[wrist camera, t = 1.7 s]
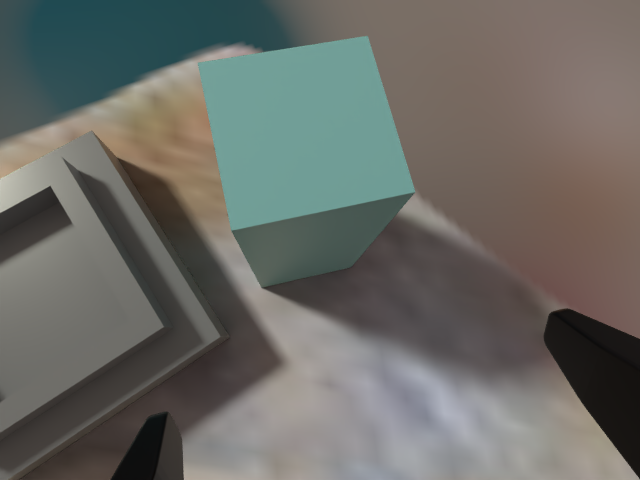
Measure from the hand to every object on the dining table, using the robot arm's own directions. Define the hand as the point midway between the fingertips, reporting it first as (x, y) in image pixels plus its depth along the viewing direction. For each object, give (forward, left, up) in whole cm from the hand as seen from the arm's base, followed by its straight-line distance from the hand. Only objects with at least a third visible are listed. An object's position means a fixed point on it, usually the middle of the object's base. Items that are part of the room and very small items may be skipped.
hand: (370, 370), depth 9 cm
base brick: (+12, +7, -13) cm, 18 cm away
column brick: (+5, -4, -13) cm, 14 cm away
